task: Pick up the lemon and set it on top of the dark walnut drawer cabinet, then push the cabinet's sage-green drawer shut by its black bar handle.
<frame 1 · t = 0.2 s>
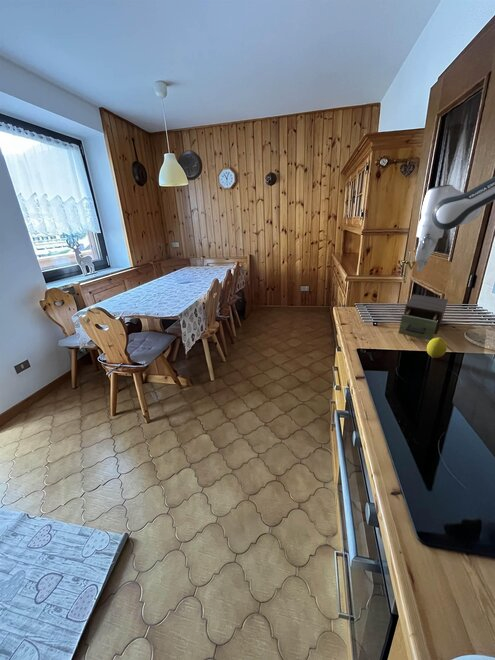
hand: (421, 267, 115), 23 cm above the counter, tool pointing down, fingers open, 8 cm apart
drawer: (419, 323, 110), point 5 cm above the counter, slide at 7.0 cm
cabinet: (421, 323, 120), on the counter
lemon: (433, 358, 98), on the counter
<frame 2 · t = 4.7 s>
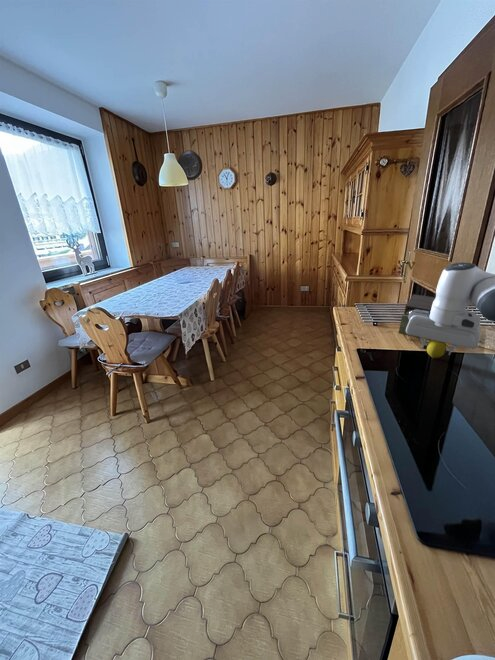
hand: (435, 351, 96), 3 cm above the counter, tool pointing down, fingers closed on lemon, 5 cm apart
lemon: (433, 358, 98), on the counter, touching gripper
everything else where it was.
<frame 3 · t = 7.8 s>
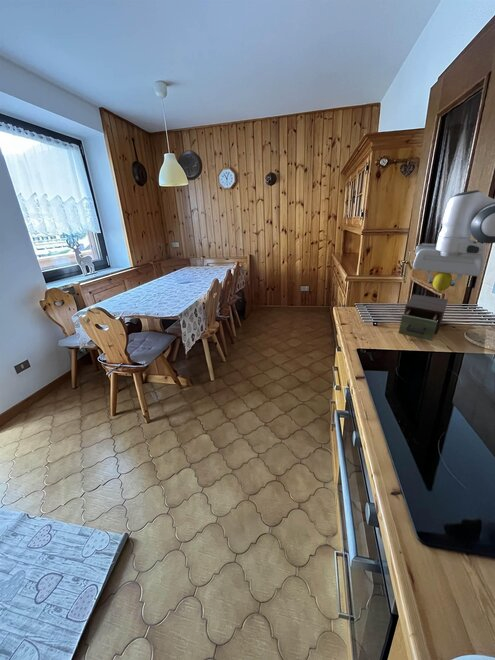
hand: (441, 284, 101), 21 cm above the counter, tool pointing down, fingers closed on lemon, 5 cm apart
lemon: (439, 292, 102), point 18 cm above the counter, touching gripper
everything else where it was.
when the fingers open (12 cm above the counter, at t = 11.4 s): lemon stays where it is, resting on cabinet.
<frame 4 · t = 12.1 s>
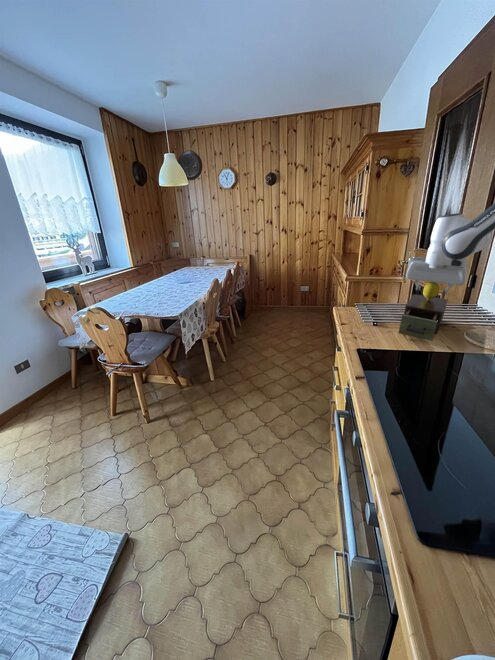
hand: (430, 292, 116), 13 cm above the counter, tool pointing down, fingers open, 8 cm apart
lemon: (428, 300, 118), point 10 cm above the counter, touching cabinet
everything else where it was.
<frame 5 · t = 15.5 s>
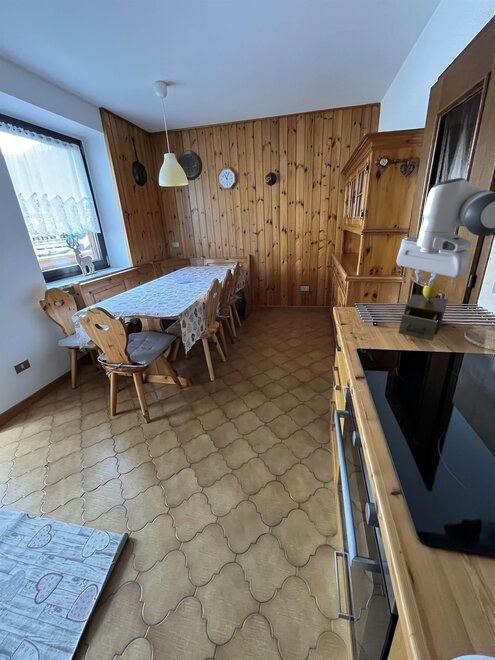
hand: (424, 284, 91), 25 cm above the counter, tool pointing down, fingers closed
nothing on the counter moved.
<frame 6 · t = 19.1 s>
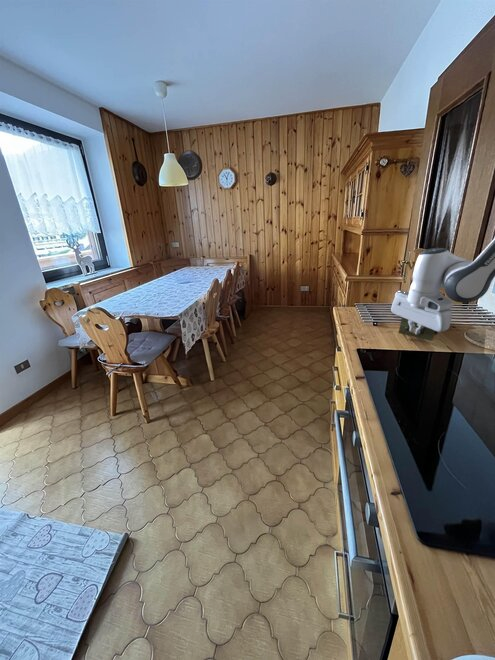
hand: (414, 332, 103), 6 cm above the counter, tool pointing down, fingers closed
drawer: (419, 323, 110), point 5 cm above the counter, slide at 6.9 cm, touching gripper
everything else where it was.
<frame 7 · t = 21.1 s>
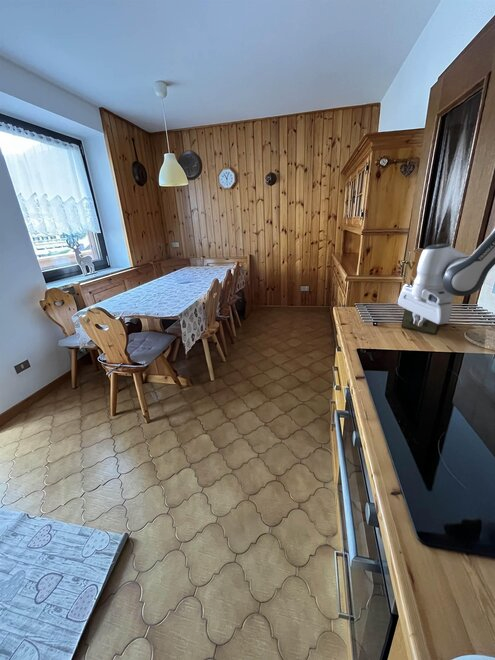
hand: (417, 324, 107), 6 cm above the counter, tool pointing down, fingers closed
drawer: (422, 316, 115), point 5 cm above the counter, slide at 0.0 cm, touching cabinet, gripper
everything else where it was.
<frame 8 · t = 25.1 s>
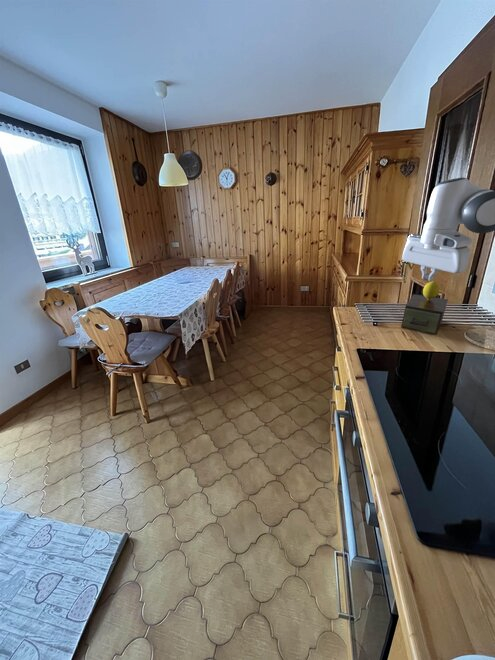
hand: (427, 279, 95), 25 cm above the counter, tool pointing down, fingers closed
drawer: (422, 316, 115), point 5 cm above the counter, slide at 0.0 cm, touching cabinet
everything else where it was.
at the end: lemon inside the target area on the cabinet (3.4 cm from its centre), point 9.6 cm above the cabinet's base; drawer slide at 0.0 cm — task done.
